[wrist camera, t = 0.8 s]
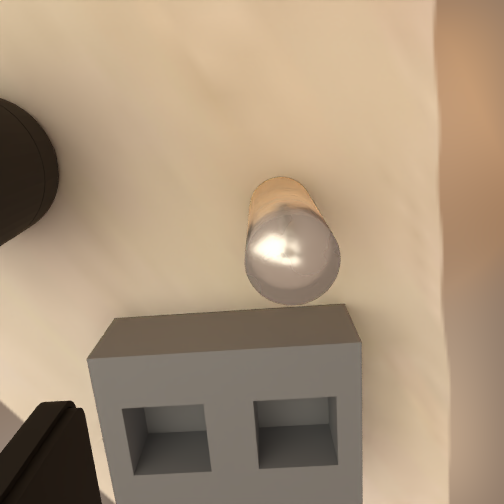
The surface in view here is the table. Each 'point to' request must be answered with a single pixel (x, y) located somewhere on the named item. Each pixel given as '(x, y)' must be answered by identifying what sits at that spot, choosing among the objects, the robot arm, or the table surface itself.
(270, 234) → the steel pin
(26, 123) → the pen holder
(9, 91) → the table surface
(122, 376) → the hole block
